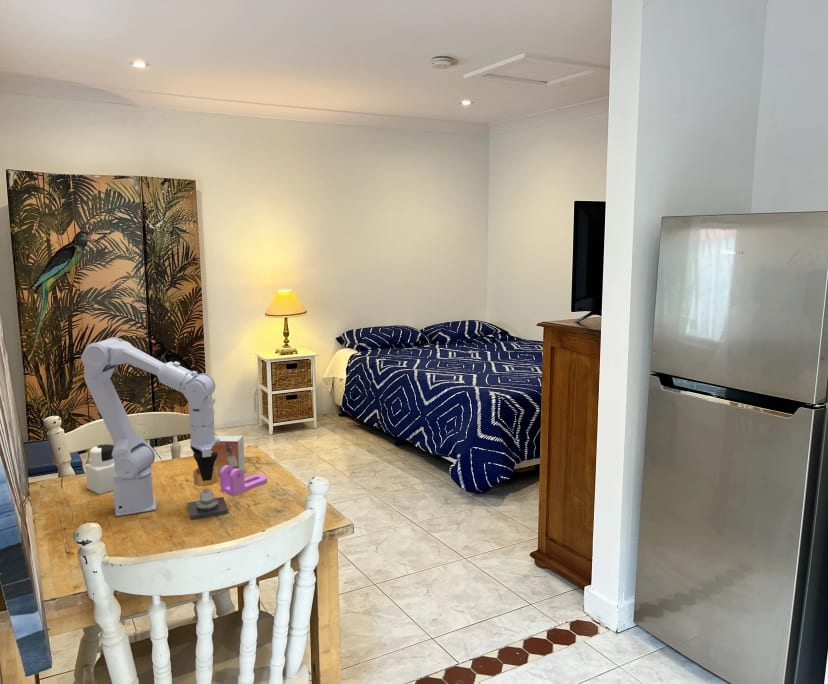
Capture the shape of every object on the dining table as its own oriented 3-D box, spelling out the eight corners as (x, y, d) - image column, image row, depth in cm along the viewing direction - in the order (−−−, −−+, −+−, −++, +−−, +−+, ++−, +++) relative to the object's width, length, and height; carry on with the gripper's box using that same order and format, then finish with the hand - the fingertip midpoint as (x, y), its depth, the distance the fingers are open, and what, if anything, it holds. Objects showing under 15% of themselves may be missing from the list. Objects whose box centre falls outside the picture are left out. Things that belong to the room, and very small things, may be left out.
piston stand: (190, 519, 166) (189, 498, 165) (187, 506, 174) (186, 485, 173) (228, 513, 169) (227, 492, 168) (223, 500, 177) (222, 480, 176)
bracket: (233, 496, 180) (232, 471, 179) (220, 491, 184) (219, 467, 182) (271, 481, 190) (270, 458, 189) (258, 477, 194) (257, 454, 192)
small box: (212, 475, 195) (210, 440, 193) (218, 468, 200) (216, 434, 199) (239, 476, 195) (237, 441, 193) (245, 469, 200) (243, 435, 198)
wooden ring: (195, 487, 166) (194, 476, 166) (192, 479, 172) (192, 468, 171) (219, 483, 169) (218, 472, 168) (216, 476, 174) (215, 465, 173)
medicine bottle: (112, 481, 191) (108, 440, 189) (124, 487, 187) (121, 445, 185) (87, 489, 186) (82, 447, 184) (99, 495, 182) (95, 452, 180)
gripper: (222, 429, 163) (225, 483, 165) (214, 414, 176) (217, 464, 178) (192, 433, 160) (195, 487, 162) (186, 417, 173) (189, 468, 175)
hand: (205, 475), depth 170 cm, fingers closed on wooden ring, 6 cm apart
